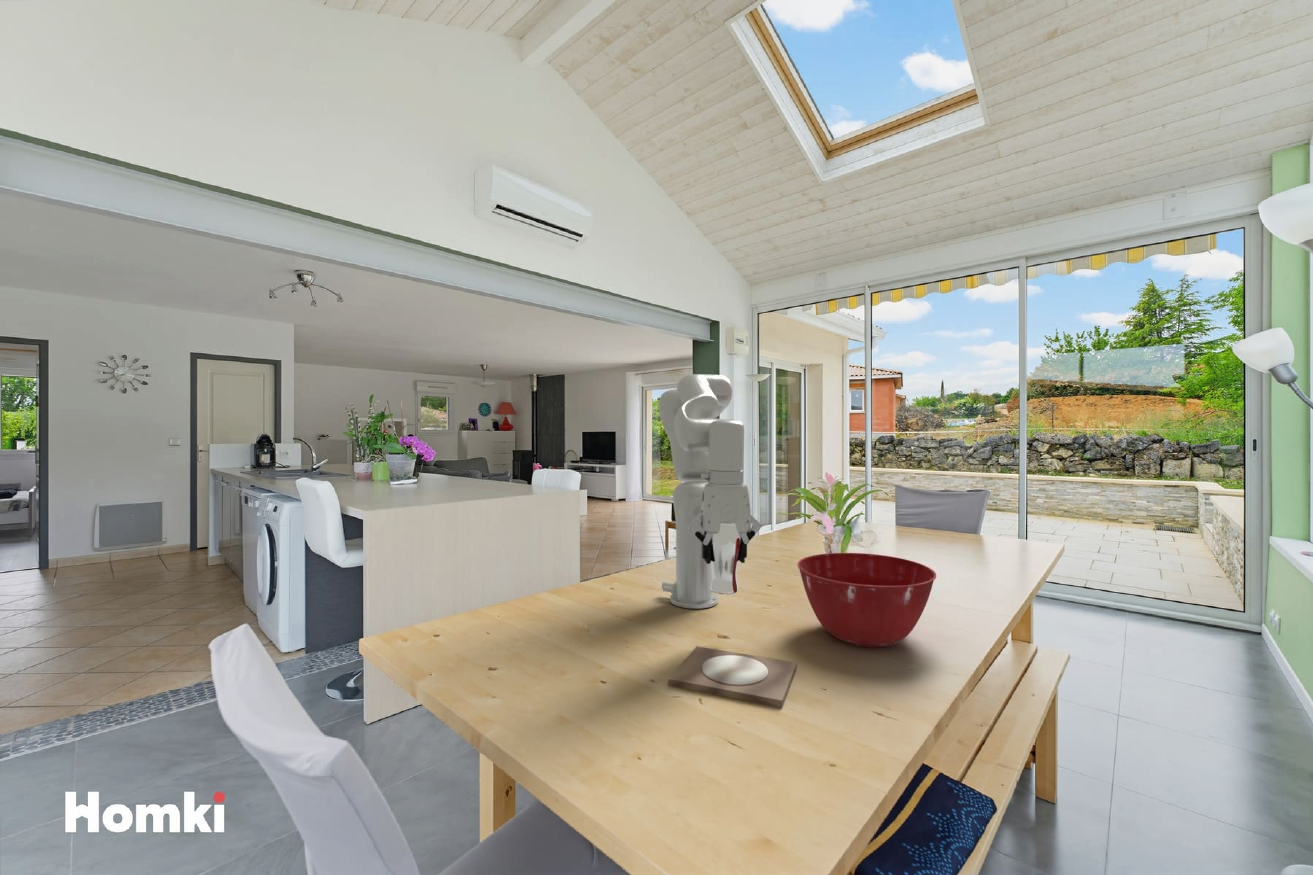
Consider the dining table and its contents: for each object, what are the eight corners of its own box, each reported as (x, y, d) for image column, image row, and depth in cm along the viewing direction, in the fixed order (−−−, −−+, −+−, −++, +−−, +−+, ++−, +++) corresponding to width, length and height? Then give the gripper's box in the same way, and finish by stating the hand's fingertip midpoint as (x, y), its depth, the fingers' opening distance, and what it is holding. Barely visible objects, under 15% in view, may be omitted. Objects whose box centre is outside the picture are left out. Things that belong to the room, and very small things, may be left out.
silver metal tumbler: (743, 586, 120) (744, 518, 120) (737, 596, 114) (738, 524, 113) (711, 583, 123) (712, 516, 122) (704, 593, 116) (705, 522, 115)
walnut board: (668, 685, 98) (668, 677, 98) (696, 651, 113) (696, 644, 113) (782, 707, 90) (782, 698, 90) (796, 668, 105) (796, 660, 105)
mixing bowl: (861, 673, 103) (862, 590, 103) (771, 623, 129) (772, 557, 129) (966, 649, 115) (967, 575, 114) (863, 608, 141) (864, 548, 140)
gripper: (688, 480, 112) (687, 567, 113) (771, 480, 115) (769, 565, 115) (682, 476, 120) (681, 558, 120) (759, 476, 122) (758, 556, 123)
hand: (724, 560), depth 118 cm, fingers closed on silver metal tumbler, 6 cm apart
